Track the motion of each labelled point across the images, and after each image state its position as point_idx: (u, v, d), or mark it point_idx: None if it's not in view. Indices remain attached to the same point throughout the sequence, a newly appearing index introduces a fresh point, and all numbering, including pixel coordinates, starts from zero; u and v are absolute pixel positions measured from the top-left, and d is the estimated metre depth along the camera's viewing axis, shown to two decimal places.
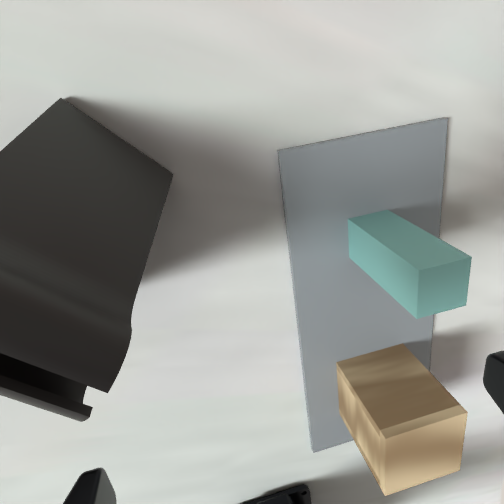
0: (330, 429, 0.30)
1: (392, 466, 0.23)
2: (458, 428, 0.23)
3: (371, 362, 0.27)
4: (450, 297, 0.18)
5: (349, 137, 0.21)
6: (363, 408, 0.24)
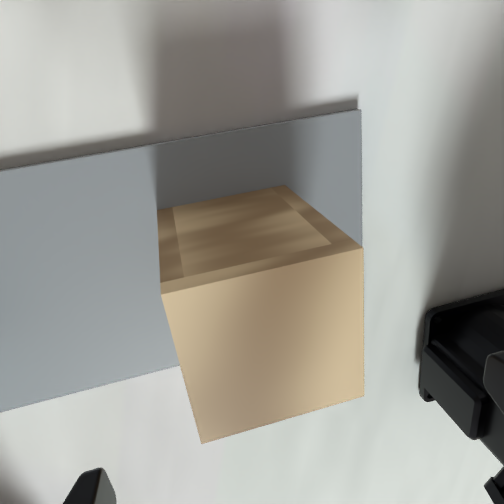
0: None
1: (284, 408, 0.12)
2: (212, 300, 0.10)
3: None
4: None
5: None
6: None
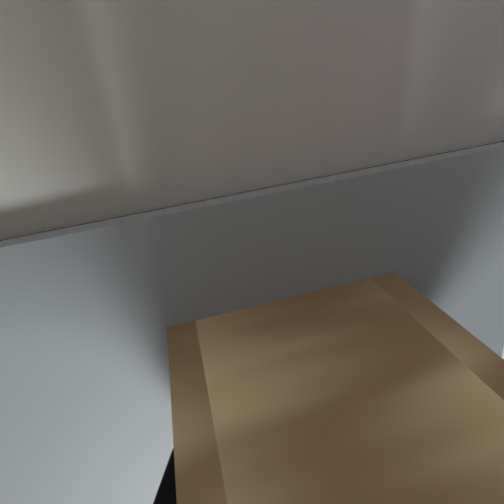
0: None
1: None
2: None
3: None
4: None
5: None
6: None
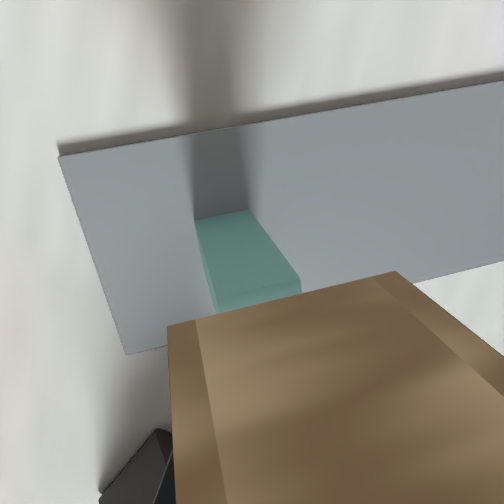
0: None
1: None
2: None
3: None
4: None
5: (102, 285, 0.18)
6: None
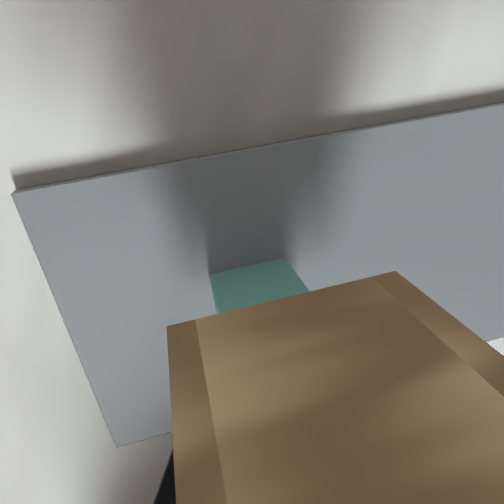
0: None
1: None
2: None
3: None
4: None
5: (82, 362, 0.13)
6: None
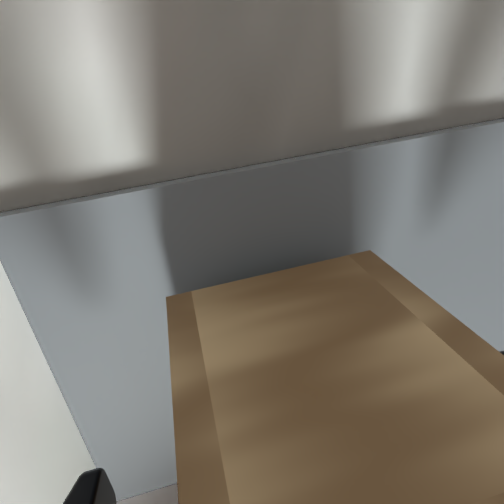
0: None
1: None
2: None
3: None
4: None
5: (72, 411, 0.11)
6: None
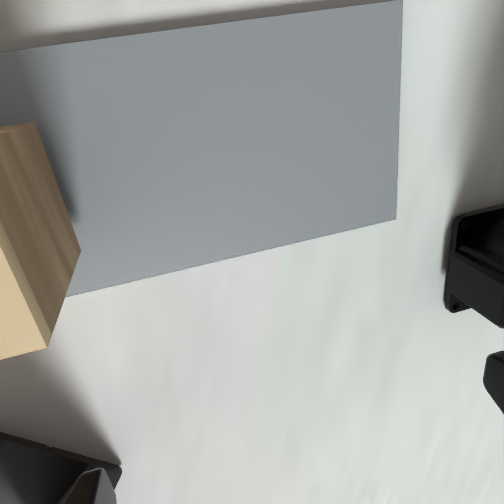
0: (360, 198, 0.20)
1: None
2: None
3: None
4: None
5: None
6: None
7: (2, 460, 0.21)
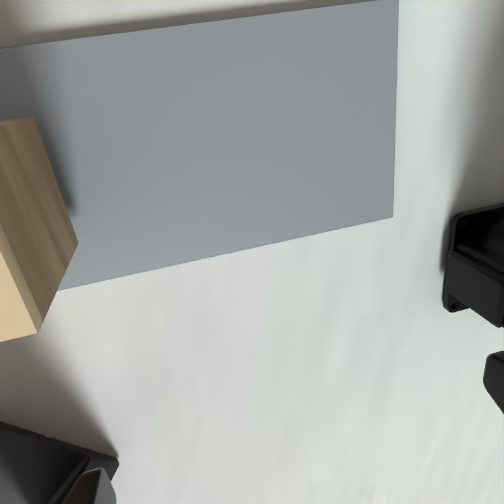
0: (357, 196, 0.20)
1: None
2: None
3: None
4: None
5: None
6: None
7: (1, 449, 0.21)
